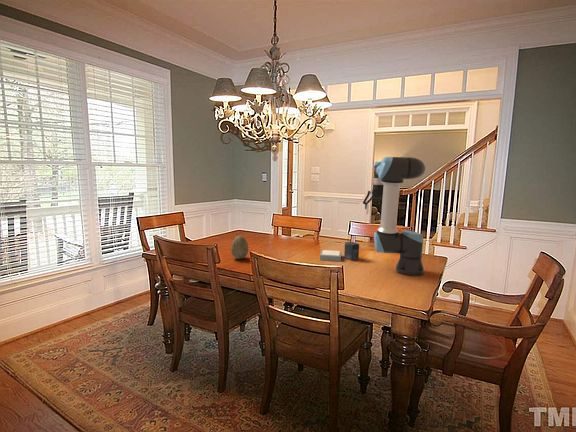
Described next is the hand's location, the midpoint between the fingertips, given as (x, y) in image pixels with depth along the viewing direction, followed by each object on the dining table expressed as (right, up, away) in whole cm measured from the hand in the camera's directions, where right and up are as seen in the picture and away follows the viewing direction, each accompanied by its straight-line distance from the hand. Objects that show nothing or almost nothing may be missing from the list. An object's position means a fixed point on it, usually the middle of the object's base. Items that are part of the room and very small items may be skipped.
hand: (376, 214), depth 233 cm
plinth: (-34, -28, -16) cm, 47 cm away
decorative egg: (-92, -28, -22) cm, 99 cm away
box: (-21, -29, -18) cm, 40 cm away
